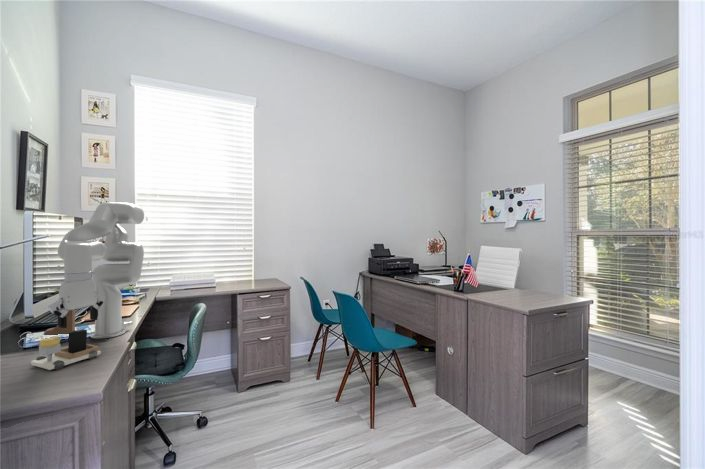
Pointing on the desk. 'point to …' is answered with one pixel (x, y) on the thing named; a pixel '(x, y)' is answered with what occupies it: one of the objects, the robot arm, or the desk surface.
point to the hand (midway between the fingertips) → (78, 323)
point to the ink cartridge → (77, 341)
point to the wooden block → (58, 330)
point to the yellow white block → (49, 345)
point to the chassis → (65, 357)
